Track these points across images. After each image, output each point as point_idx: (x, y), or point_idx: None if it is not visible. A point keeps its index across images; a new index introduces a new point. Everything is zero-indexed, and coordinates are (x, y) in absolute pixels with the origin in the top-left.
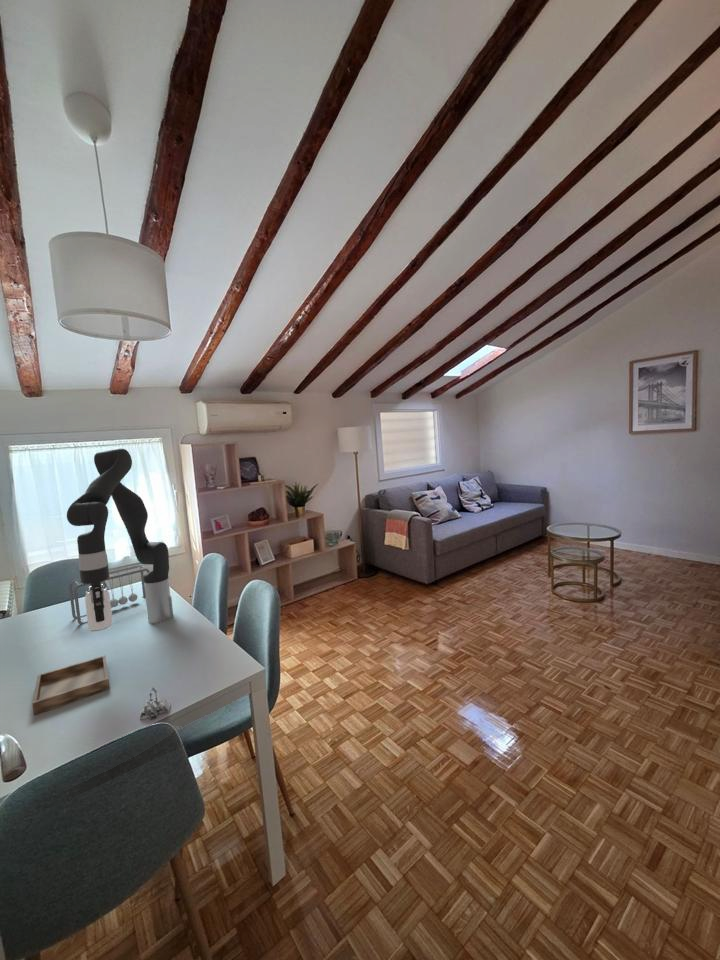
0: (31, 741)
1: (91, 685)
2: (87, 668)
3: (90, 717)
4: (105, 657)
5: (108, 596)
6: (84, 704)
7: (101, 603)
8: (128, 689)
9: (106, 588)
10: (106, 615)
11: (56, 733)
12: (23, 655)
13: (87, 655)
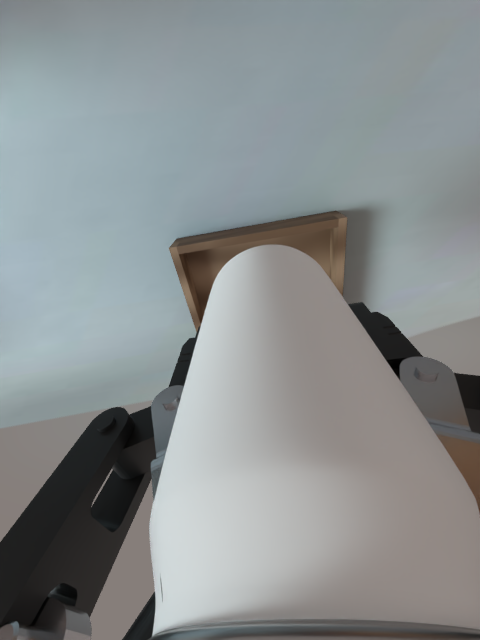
0: (425, 326)
1: (343, 259)
2: (193, 283)
3: (439, 240)
4: (186, 245)
5: (380, 411)
6: (364, 261)
7: (459, 421)
8: (377, 153)
9: (300, 621)
10: (344, 300)
11: (439, 294)
12: (60, 400)
13: (95, 293)
